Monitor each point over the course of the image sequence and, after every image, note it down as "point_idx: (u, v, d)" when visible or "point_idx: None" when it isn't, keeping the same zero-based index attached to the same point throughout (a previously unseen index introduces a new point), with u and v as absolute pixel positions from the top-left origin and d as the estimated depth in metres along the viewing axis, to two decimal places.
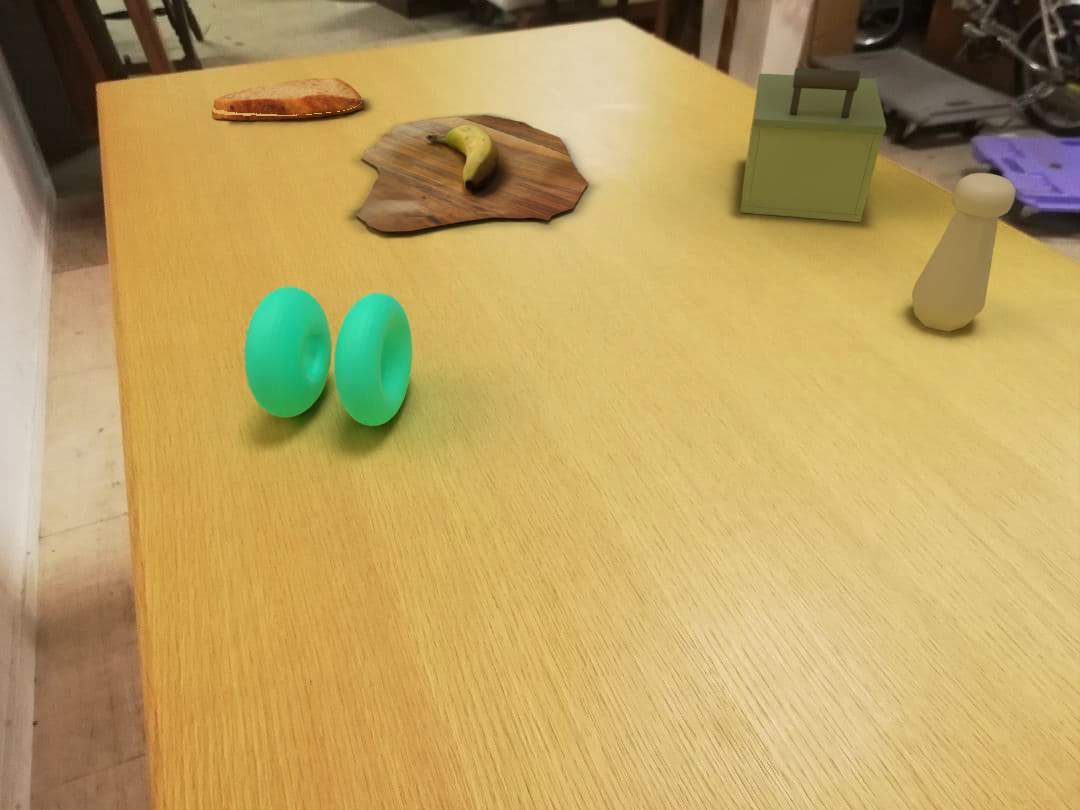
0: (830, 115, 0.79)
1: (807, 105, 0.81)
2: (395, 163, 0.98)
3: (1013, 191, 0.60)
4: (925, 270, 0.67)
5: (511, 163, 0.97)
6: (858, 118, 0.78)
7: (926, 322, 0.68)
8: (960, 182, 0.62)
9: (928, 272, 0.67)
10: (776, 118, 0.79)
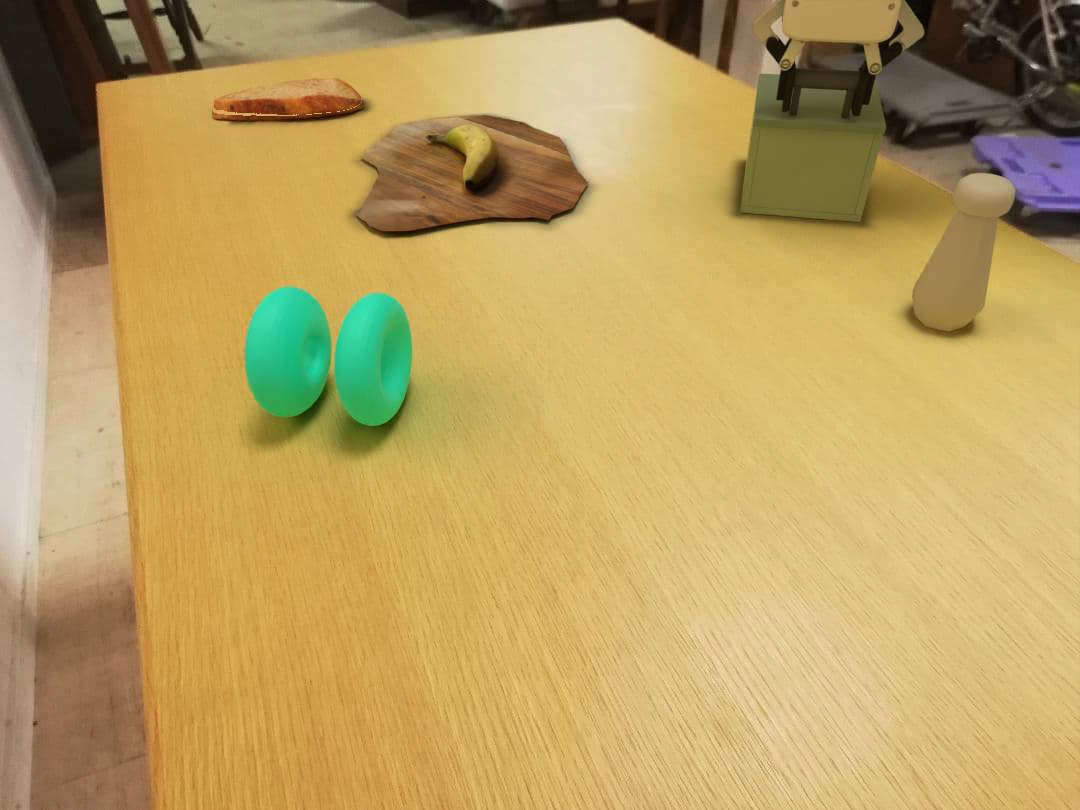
0: (830, 115, 0.79)
1: (807, 105, 0.81)
2: (395, 163, 0.98)
3: (1013, 191, 0.60)
4: (925, 270, 0.67)
5: (511, 163, 0.97)
6: (858, 118, 0.78)
7: (926, 322, 0.68)
8: (960, 182, 0.62)
9: (928, 272, 0.67)
10: (776, 118, 0.79)
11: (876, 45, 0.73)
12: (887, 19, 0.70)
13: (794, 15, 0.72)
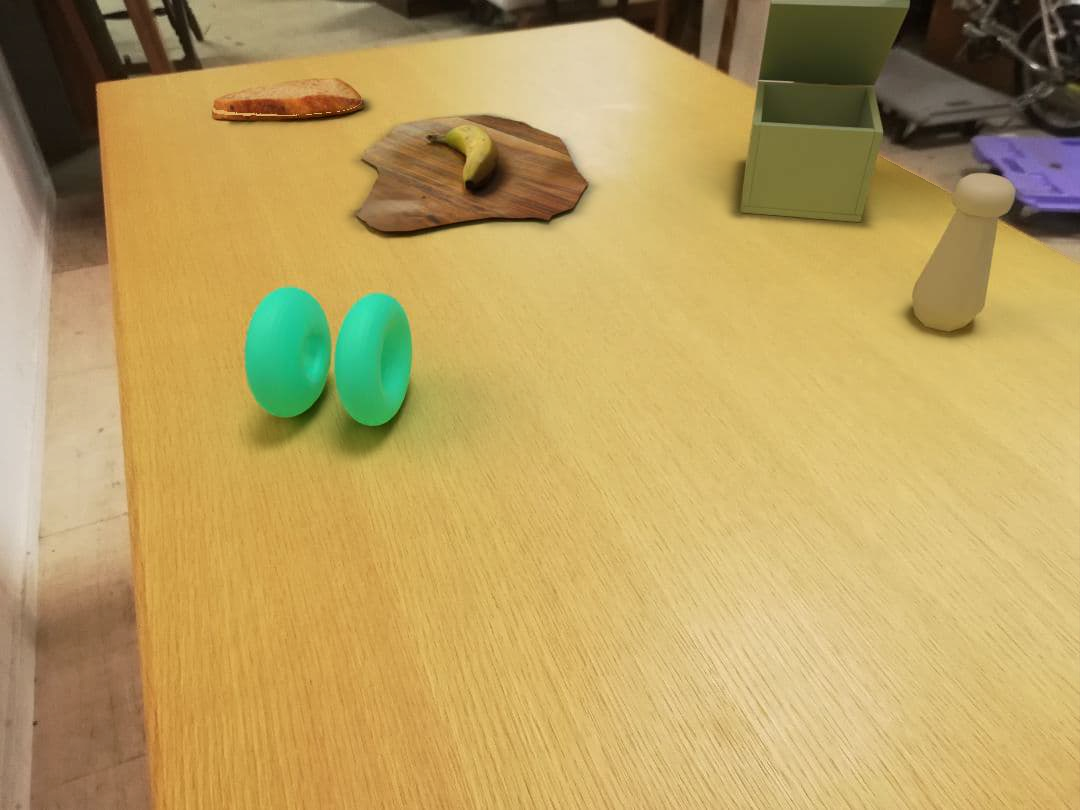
0: None
1: None
2: (395, 163, 0.98)
3: (1013, 191, 0.60)
4: (925, 270, 0.67)
5: (511, 163, 0.97)
6: None
7: (926, 322, 0.68)
8: (960, 182, 0.62)
9: (928, 272, 0.67)
10: None
11: None
12: None
13: None
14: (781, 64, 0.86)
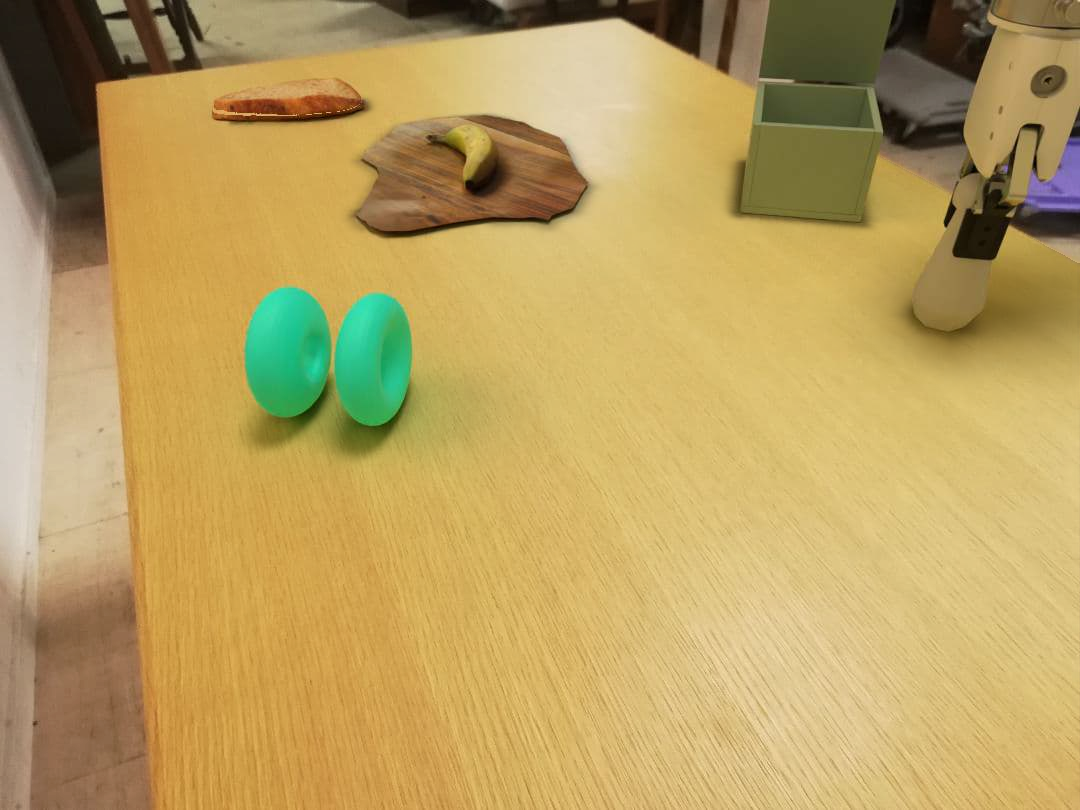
0: None
1: None
2: (395, 163, 0.98)
3: None
4: (925, 270, 0.67)
5: (511, 163, 0.97)
6: None
7: (926, 322, 0.68)
8: (960, 182, 0.62)
9: (928, 272, 0.67)
10: None
11: (983, 181, 0.58)
12: (986, 150, 0.56)
13: (968, 109, 0.62)
14: (783, 45, 0.86)
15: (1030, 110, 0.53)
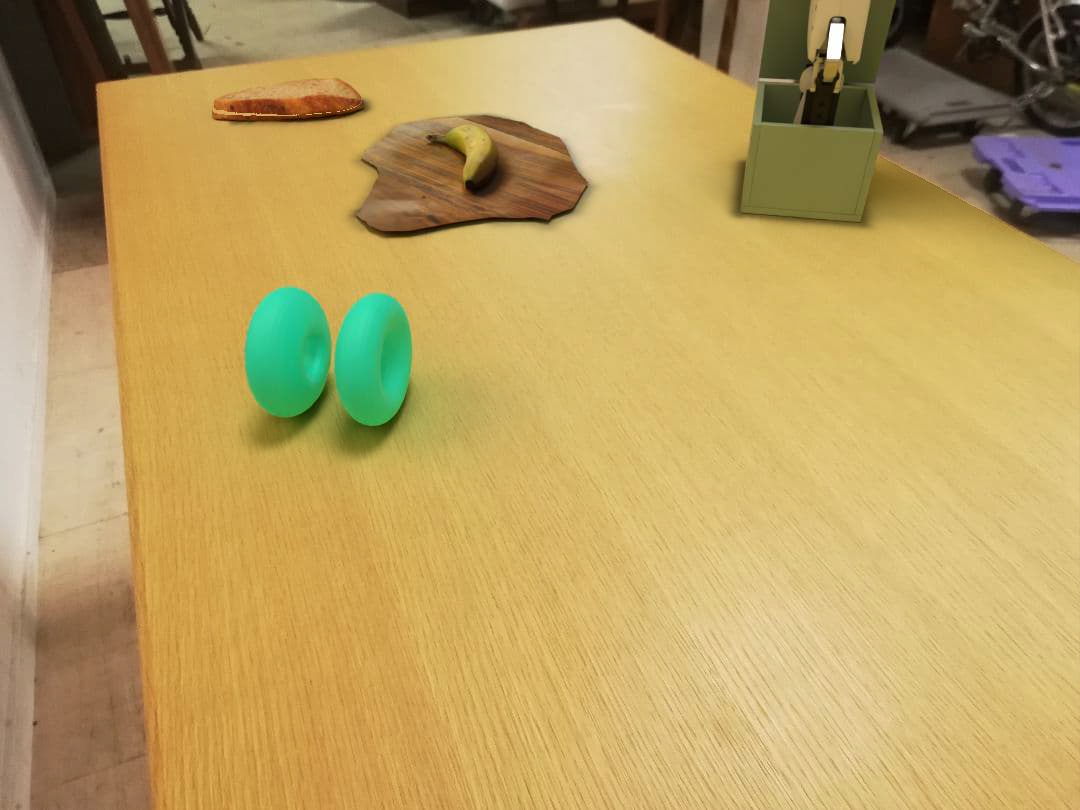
0: None
1: None
2: (395, 163, 0.98)
3: None
4: None
5: (511, 163, 0.97)
6: None
7: None
8: None
9: None
10: None
11: (814, 64, 0.77)
12: (810, 40, 0.76)
13: None
14: (783, 45, 0.86)
15: (834, 6, 0.72)
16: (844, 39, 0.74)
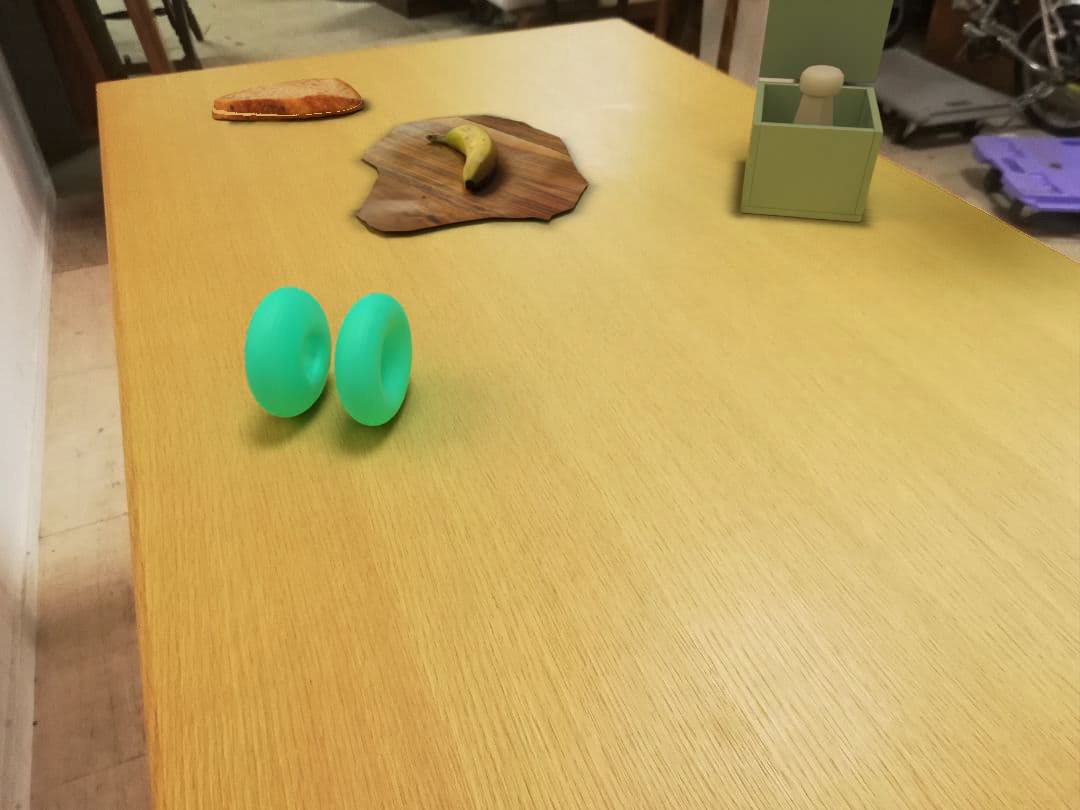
0: None
1: None
2: (395, 163, 0.98)
3: (840, 76, 0.80)
4: None
5: (511, 163, 0.97)
6: None
7: None
8: None
9: None
10: None
11: None
12: None
13: None
14: (783, 43, 0.87)
15: None
16: None
